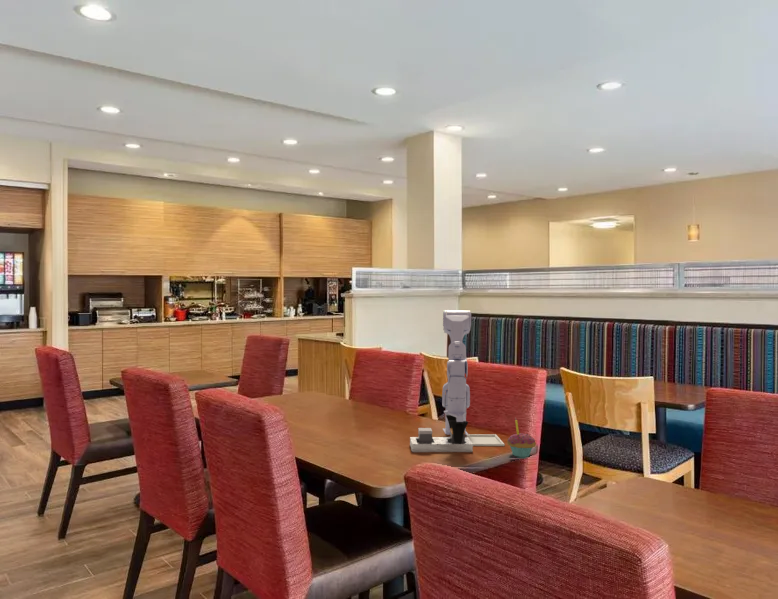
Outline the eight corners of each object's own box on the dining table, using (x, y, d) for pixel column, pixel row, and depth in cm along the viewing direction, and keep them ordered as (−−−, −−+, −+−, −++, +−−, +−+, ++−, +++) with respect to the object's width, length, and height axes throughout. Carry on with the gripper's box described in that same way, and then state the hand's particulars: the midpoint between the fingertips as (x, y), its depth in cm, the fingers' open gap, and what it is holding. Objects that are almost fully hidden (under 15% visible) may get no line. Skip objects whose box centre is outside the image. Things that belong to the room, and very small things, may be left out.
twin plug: (418, 446, 197) (418, 427, 197) (430, 446, 197) (430, 427, 197) (419, 449, 193) (419, 430, 193) (432, 450, 193) (432, 430, 193)
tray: (466, 437, 211) (466, 434, 211) (496, 437, 212) (496, 434, 212) (472, 447, 198) (472, 444, 198) (504, 447, 198) (504, 444, 198)
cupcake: (514, 461, 183) (515, 421, 183) (502, 453, 191) (502, 415, 191) (540, 459, 185) (541, 419, 185) (527, 452, 193) (527, 414, 193)
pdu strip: (409, 446, 199) (410, 437, 199) (467, 446, 200) (468, 437, 200) (411, 453, 190) (411, 444, 190) (472, 453, 191) (472, 444, 191)
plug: (450, 446, 197) (450, 428, 197) (462, 446, 197) (463, 428, 197) (451, 450, 193) (452, 430, 193) (464, 450, 193) (465, 430, 193)
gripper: (441, 393, 202) (441, 434, 202) (447, 401, 187) (446, 445, 188) (462, 393, 202) (462, 434, 202) (470, 401, 188) (469, 445, 188)
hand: (456, 439), depth 195 cm, fingers open, 7 cm apart
